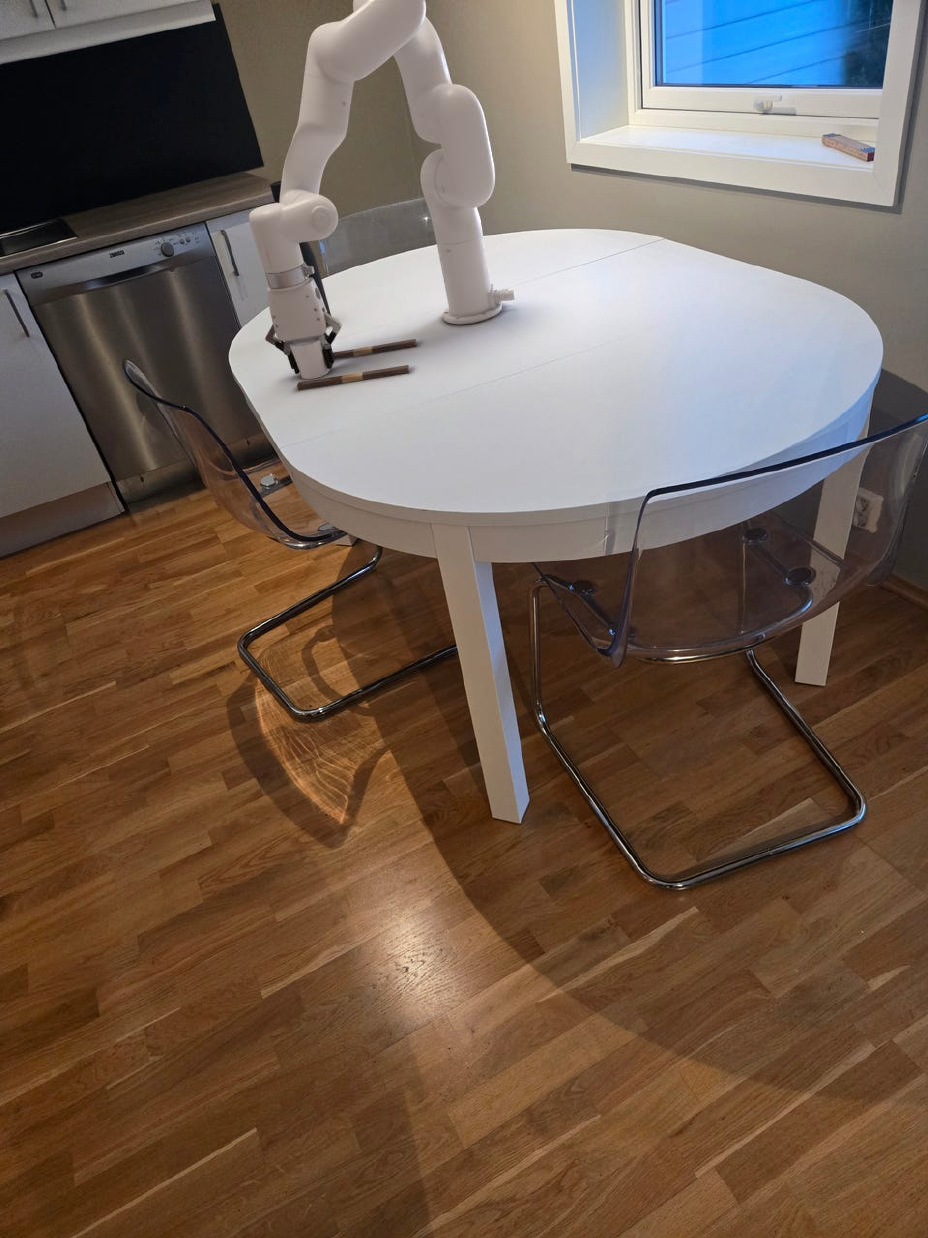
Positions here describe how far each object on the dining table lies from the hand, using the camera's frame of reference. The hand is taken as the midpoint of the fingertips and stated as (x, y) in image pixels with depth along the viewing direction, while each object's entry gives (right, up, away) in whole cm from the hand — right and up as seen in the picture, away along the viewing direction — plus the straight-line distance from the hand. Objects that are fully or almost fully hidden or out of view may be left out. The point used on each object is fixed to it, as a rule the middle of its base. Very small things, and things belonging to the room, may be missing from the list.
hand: (314, 368), depth 174 cm
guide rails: (+9, 0, -1) cm, 9 cm away
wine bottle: (-3, +17, +25) cm, 30 cm away
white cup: (0, -1, +1) cm, 1 cm away
